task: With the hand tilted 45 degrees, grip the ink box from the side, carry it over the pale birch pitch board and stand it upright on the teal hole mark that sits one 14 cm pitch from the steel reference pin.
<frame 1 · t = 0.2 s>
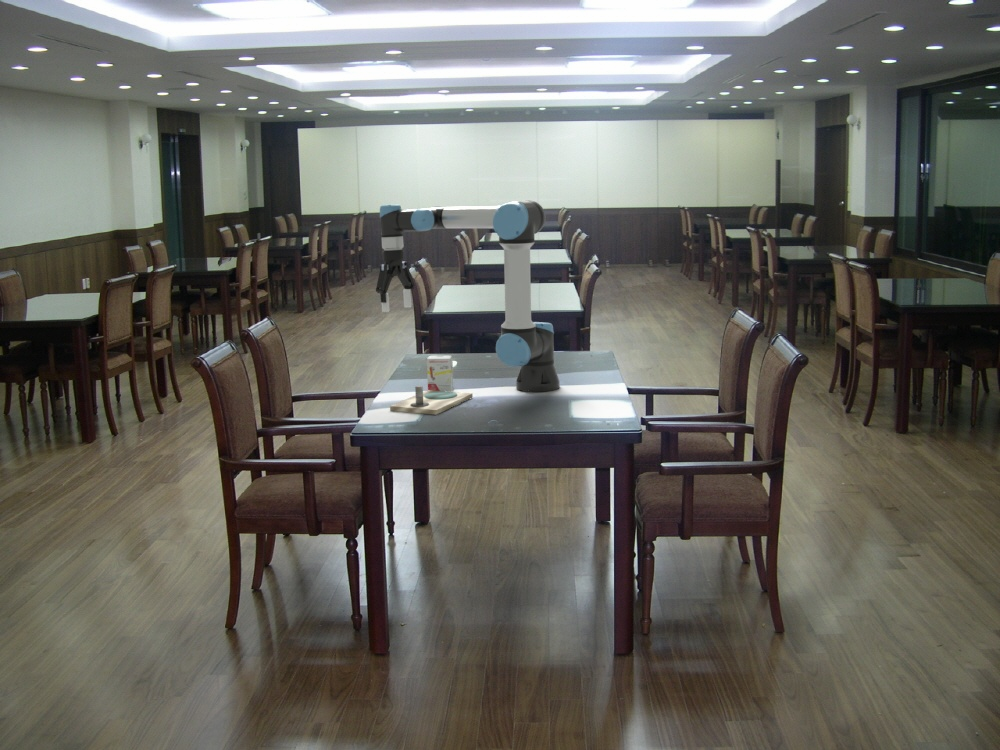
hand: (397, 309, 371), 27 cm above the table, fingers open, 13 cm apart
pitch board: (432, 404, 346), on the table
ink box: (440, 390, 368), on the table
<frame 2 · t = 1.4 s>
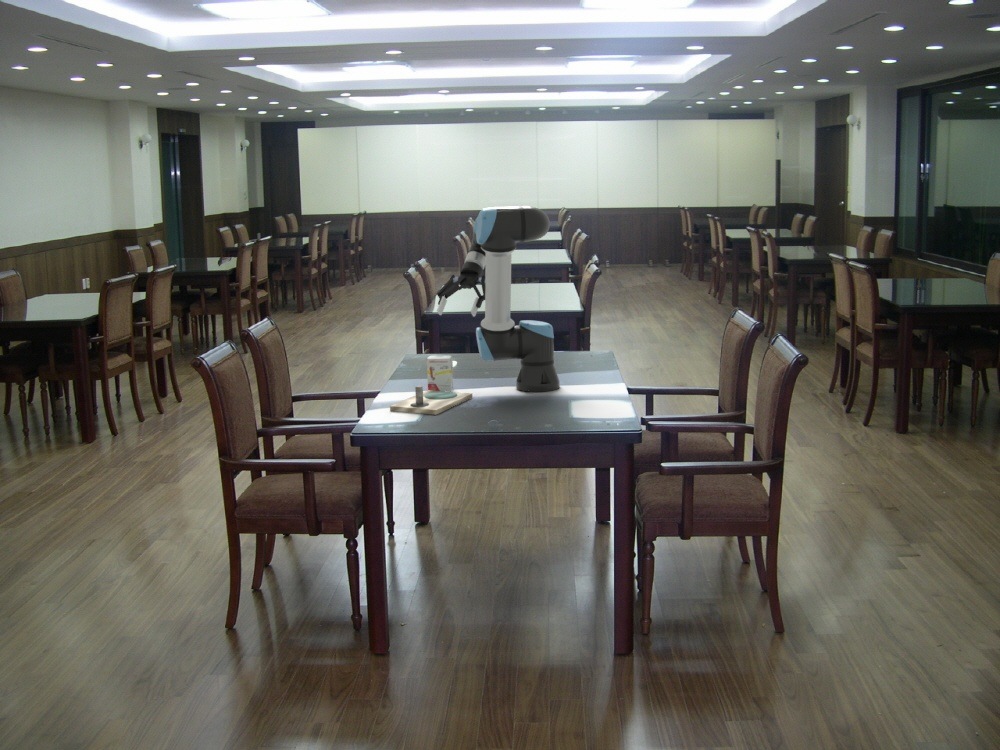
hand: (455, 313, 374), 25 cm above the table, fingers open, 13 cm apart
nothing on the table moved.
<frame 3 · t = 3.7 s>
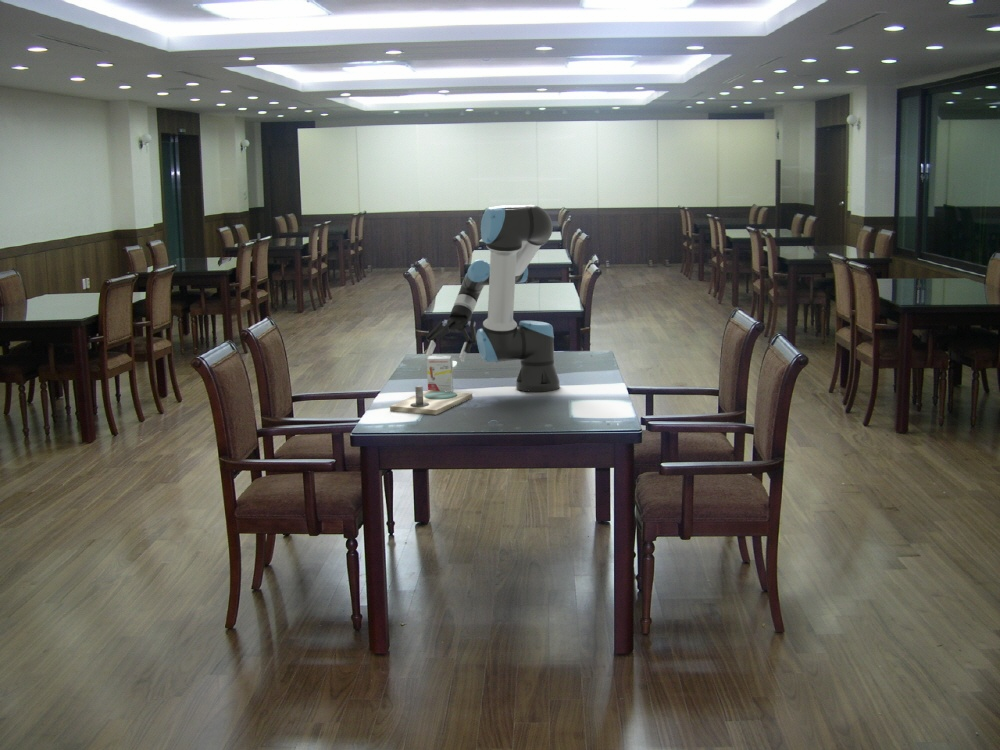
hand: (444, 358, 371), 10 cm above the table, fingers open, 13 cm apart
nothing on the table moved.
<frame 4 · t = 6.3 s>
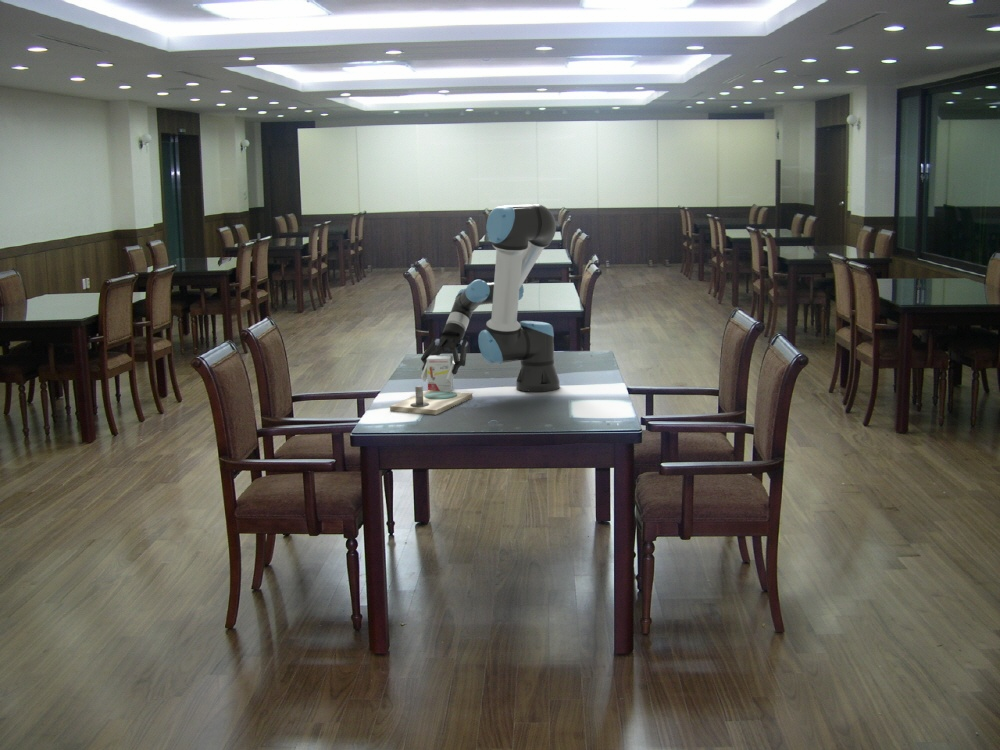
hand: (435, 380, 364), 4 cm above the table, fingers closed on ink box, 9 cm apart
ink box: (440, 390, 368), on the table, touching gripper
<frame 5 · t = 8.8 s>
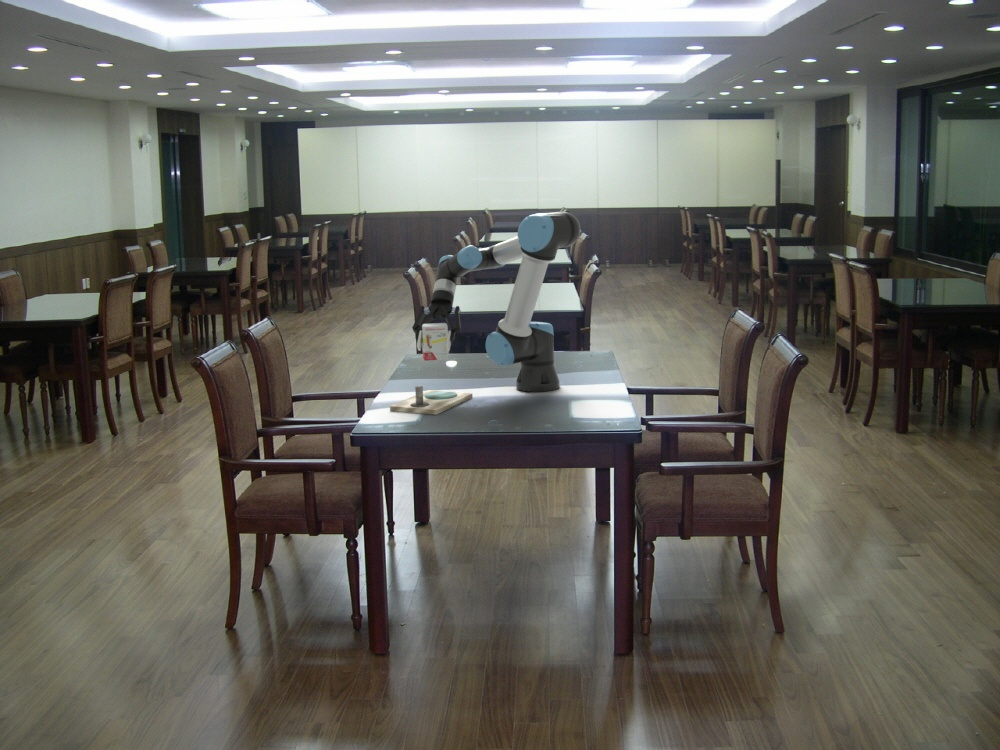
hand: (433, 348, 352), 17 cm above the table, fingers closed on ink box, 9 cm apart
ink box: (436, 359, 356), point 13 cm above the table, touching gripper
when the fingers open (7 cm above the table, at t = 11.6 s): ink box drops 1 cm, resting on pitch board.
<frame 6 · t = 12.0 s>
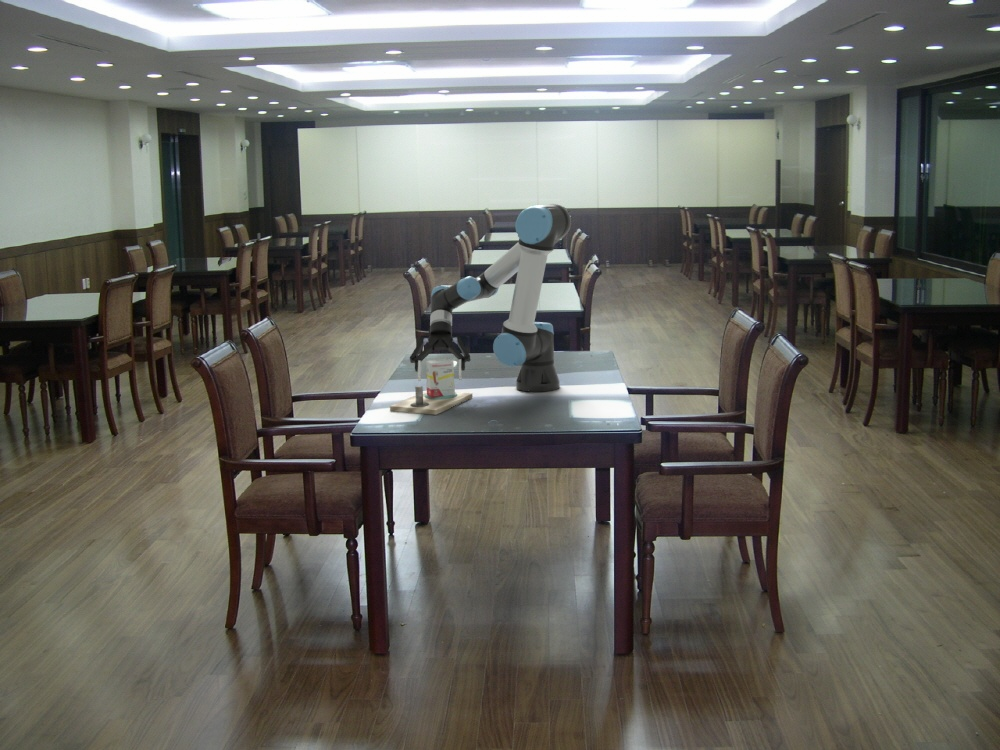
hand: (439, 378, 348), 8 cm above the table, fingers open, 13 cm apart
ink box: (441, 395, 352), point 1 cm above the table, touching pitch board
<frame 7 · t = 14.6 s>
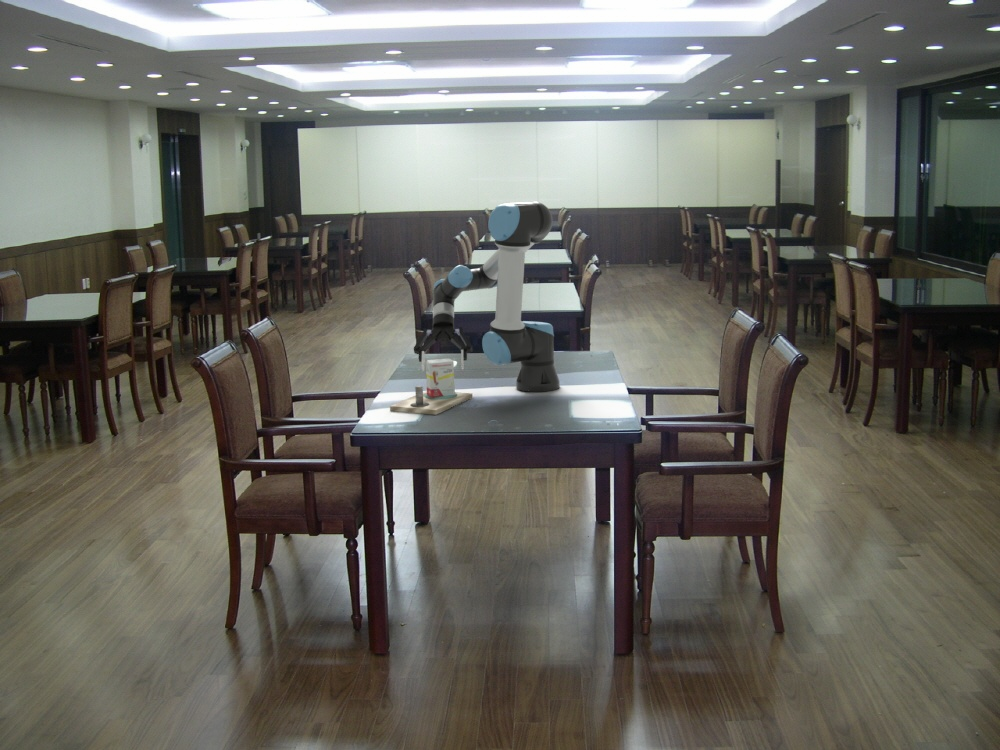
hand: (442, 368, 361), 9 cm above the table, fingers open, 13 cm apart
nothing on the table moved.
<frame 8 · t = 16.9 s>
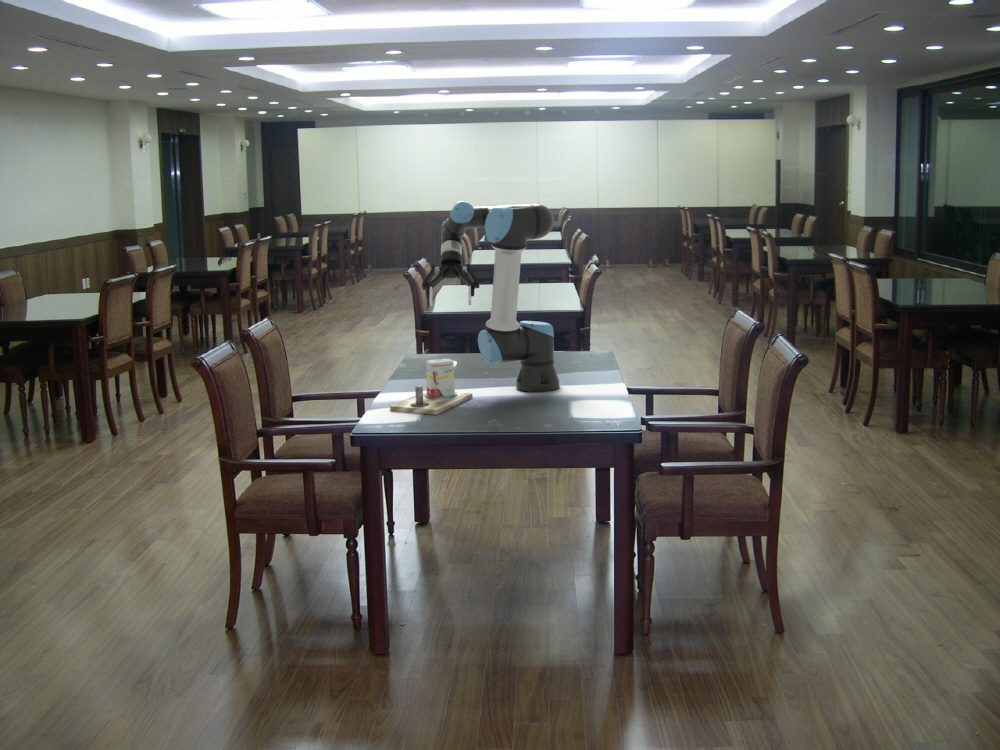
hand: (450, 303, 366), 30 cm above the table, fingers open, 13 cm apart
nothing on the table moved.
at the end: ink box 0.1 cm from the target spot on the pitch board, point 1.5 cm above the pitch board's base; ink box tilted 0°; the gripper is holding nothing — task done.
